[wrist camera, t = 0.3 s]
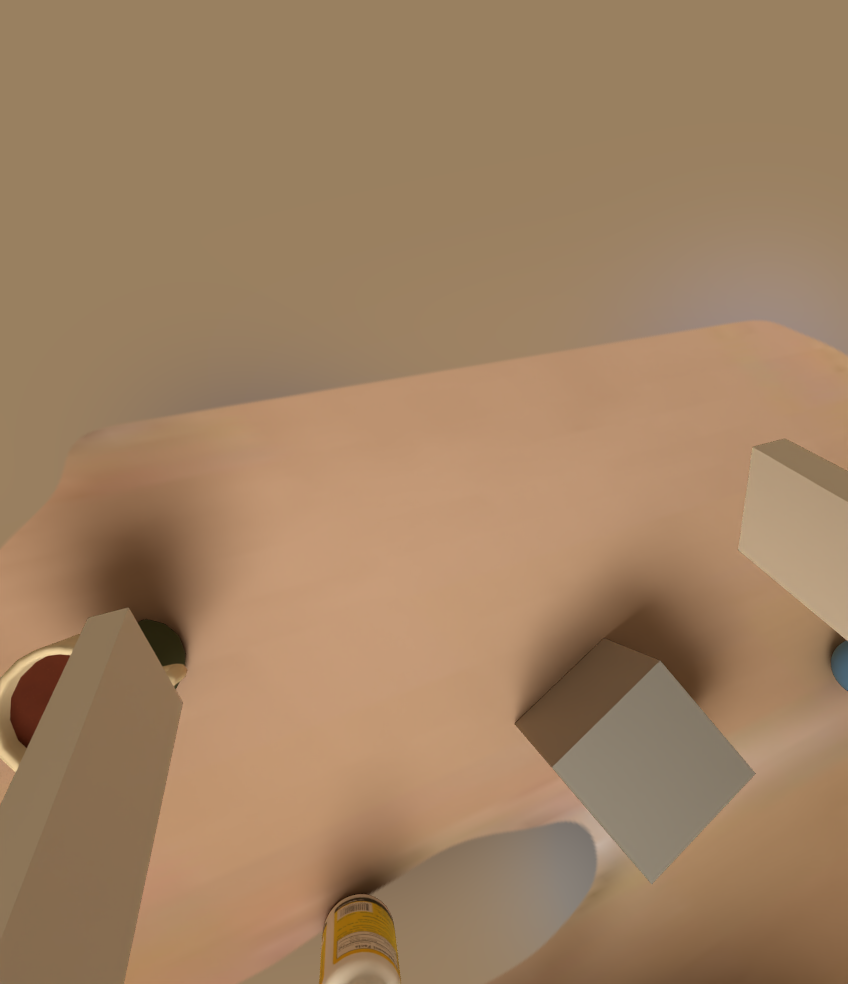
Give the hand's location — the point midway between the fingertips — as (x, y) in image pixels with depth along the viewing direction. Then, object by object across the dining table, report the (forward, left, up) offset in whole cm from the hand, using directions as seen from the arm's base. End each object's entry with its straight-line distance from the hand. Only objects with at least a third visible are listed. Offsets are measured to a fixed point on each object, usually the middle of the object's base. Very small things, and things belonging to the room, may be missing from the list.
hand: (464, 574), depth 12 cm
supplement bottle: (-21, +20, -34) cm, 45 cm away
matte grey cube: (-23, -4, -34) cm, 41 cm away
